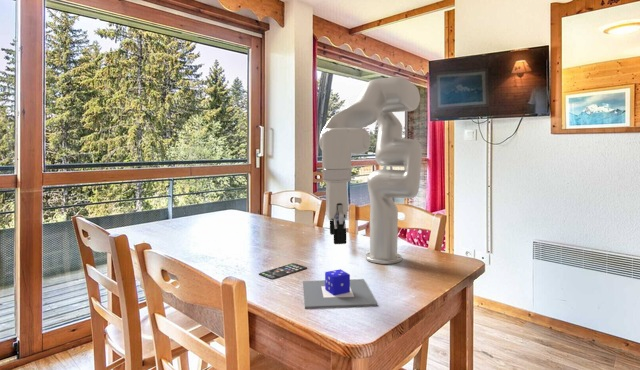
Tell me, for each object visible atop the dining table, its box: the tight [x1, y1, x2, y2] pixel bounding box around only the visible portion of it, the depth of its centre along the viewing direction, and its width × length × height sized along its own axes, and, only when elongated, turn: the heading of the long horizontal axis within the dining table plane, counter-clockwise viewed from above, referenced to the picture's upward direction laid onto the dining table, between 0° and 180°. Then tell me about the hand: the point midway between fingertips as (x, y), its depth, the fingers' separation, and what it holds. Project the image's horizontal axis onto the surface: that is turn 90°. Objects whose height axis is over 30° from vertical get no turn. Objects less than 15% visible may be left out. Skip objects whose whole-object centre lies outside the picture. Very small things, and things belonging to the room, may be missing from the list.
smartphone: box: [258, 262, 308, 281], centre depth 122 cm, size 7×1×15 cm
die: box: [324, 268, 351, 295], centre depth 103 cm, size 5×5×5 cm
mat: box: [302, 278, 378, 309], centre depth 103 cm, size 18×18×1 cm
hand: (337, 238), depth 102 cm, fingers open, 9 cm apart
